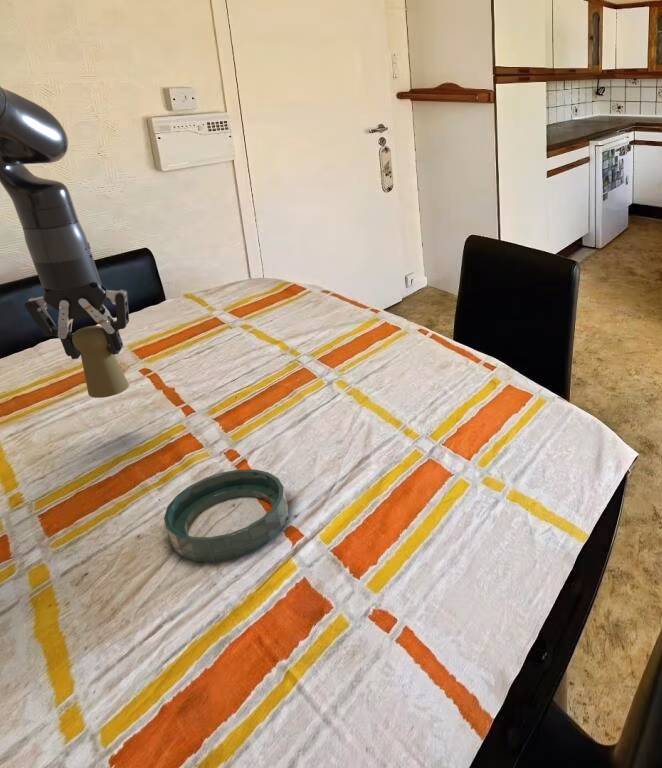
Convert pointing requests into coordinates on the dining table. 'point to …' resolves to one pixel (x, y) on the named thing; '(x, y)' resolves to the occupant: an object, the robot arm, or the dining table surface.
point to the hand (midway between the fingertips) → (97, 354)
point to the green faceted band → (218, 491)
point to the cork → (99, 363)
